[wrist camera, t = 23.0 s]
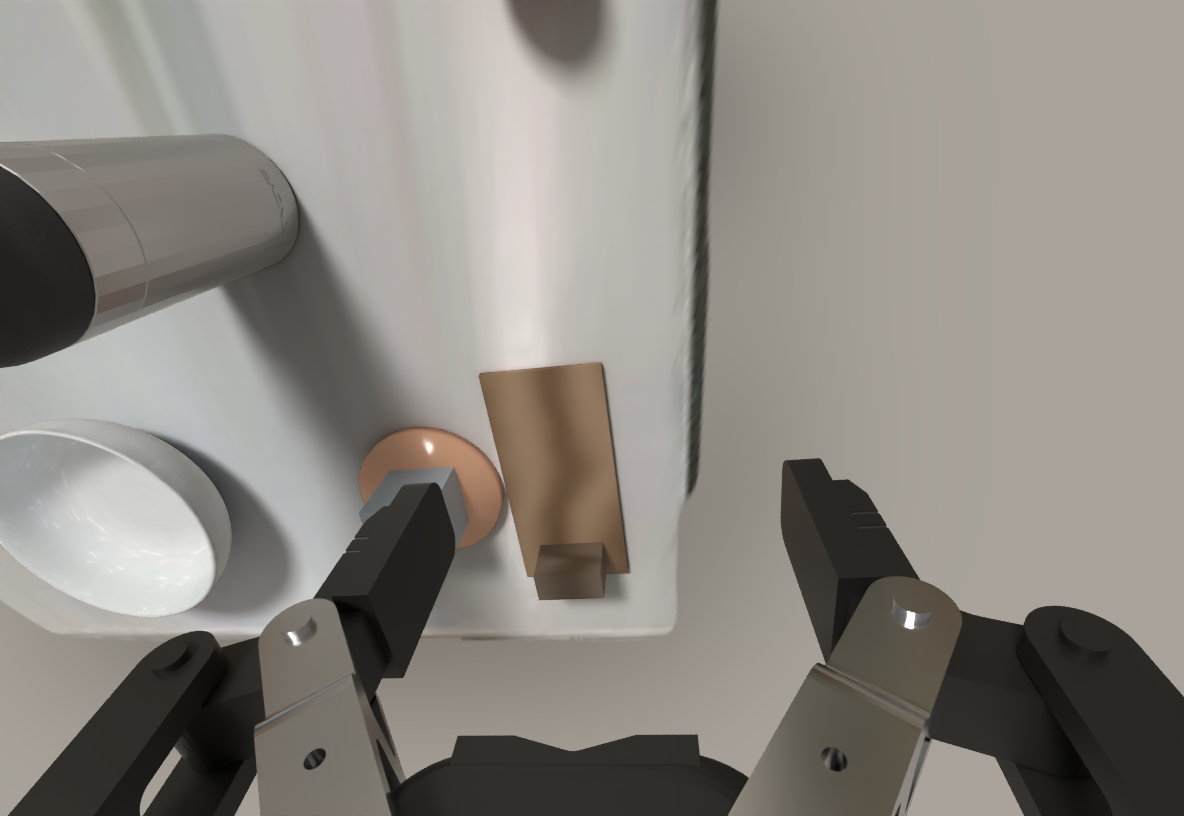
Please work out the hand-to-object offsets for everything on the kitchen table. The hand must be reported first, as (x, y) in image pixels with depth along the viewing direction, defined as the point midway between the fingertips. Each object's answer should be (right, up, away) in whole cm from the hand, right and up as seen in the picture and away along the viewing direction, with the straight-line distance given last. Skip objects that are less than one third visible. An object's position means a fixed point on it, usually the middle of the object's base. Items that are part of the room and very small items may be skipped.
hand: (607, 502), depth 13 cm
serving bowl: (-43, -5, +41) cm, 60 cm away
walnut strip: (-3, -4, +37) cm, 37 cm away
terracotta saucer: (-15, -5, +38) cm, 41 cm away
